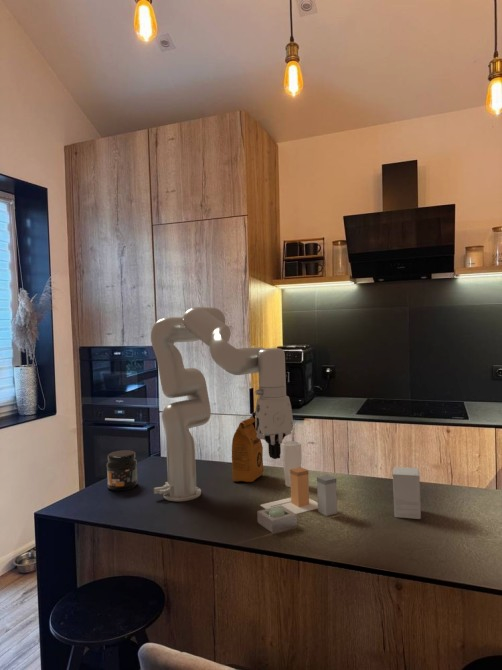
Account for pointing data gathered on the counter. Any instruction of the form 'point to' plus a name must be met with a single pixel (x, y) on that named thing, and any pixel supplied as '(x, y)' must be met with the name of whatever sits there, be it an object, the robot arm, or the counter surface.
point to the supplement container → (122, 470)
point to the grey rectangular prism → (327, 495)
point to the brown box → (299, 486)
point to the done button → (276, 512)
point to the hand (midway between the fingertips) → (274, 457)
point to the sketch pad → (292, 505)
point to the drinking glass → (291, 458)
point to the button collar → (277, 520)
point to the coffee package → (246, 453)
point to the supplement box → (406, 492)
